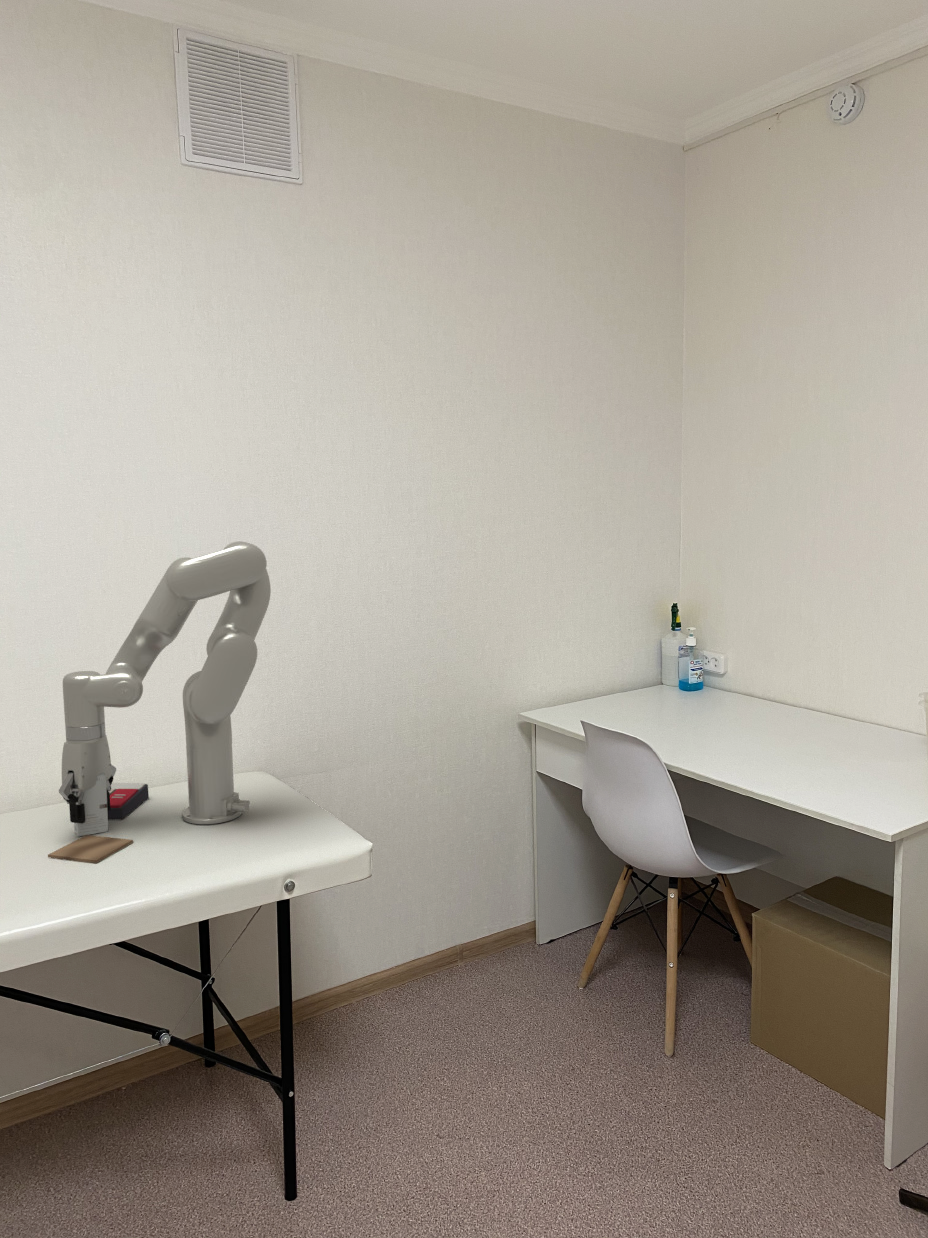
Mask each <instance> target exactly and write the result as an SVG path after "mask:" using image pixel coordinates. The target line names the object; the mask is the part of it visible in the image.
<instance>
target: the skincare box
mask: <svg viewBox="0 0 928 1238" xmlns="http://www.w3.org/2000/svg"><path fill="white" fill-rule="evenodd" d="M75 788H78V785H76V786H75ZM75 796H76V797H77V796H78V792H75ZM82 804H84V806H85V823H83V824H81V823H74V832H75V834H76V835H77V837H83V836H85V835H95V834H100V833H106V832H108V831H109V820H108V811H107V787H106V775H105V773H102V774H100V775H98V776H97V781H96V785H95V786H94V787H92V788H90V789H87V790H85V793H84V796H83V800H82Z"/></svg>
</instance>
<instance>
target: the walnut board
mask: <svg viewBox="0 0 928 1238" xmlns="http://www.w3.org/2000/svg"><path fill="white" fill-rule="evenodd" d="M133 843H134V840H133V839H128V838H117V837H110V836H101V835H94V834H89V835H84V836H80V838H78V839H75V840H74V841H72V842H70V843H68V844H66V845H64V846H62V847H60V848H58V849H56V850H55V851H52V852H50V853H49V854H47V858H48V857H51V858H50V859H55V858H57V859H56V860H63V859H66V860H65V861H71V860H73V862H80V863H89V864H98V863H100V862H102V861H103V860H106V859H107V858H109V857H110V856H112V855H114V854H116V853H118V852H119V851H121V850H123V849H125V848H127V847H128V846H131V845H132V844H133Z"/></svg>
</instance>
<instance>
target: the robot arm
mask: <svg viewBox="0 0 928 1238" xmlns="http://www.w3.org/2000/svg"><path fill="white" fill-rule="evenodd" d="M267 564H268V563H267V557H266V555H265V553H264V552H263V551H262V549H261V548H260V547H258V546H257V545H255V544H253V543H250V542H246V541H234V542H230V543H229V544H227V545H226V546H224V548H223V549H221V550H218V551H217V550H216V551H215V552H211V553H208V554H204V555H201V556H200V555H199V556H196V557H186V556H185V557H180V558H178V559H175V560H173V562H171V564H170V565H169V566H168V568H167V569H166V570H165V572H164V574H163V576H162V578H161V579H160V581H159V583H158V585H157V586H156V587H155V589H154V591H153V592H152V594H151V596H150V598H149V600H148V602H147V603H146V605H145V606H144V608H143V609H142V611H141V612H140V614H139V616H138V618H137V620H136V621H135V623H134V624H133V627H132V629H131V630H130V632H129V634H128V635H127V637H126V638H125V639H124V641H123V643H122V645H121V647H120V648H119V649H118V651H117V653H116V655H115V656H114V658H113V660H112V661H111V663H110V664H109V666H108V668H107V670H106V672H105V674H100V673H99V672H97V671H93V670H81V671H80V670H79V671H73V672H69V673H67V674H66V675H64V676H63V678H62V694H63V695H62V697H63V710H64V712H63V713H64V726H65V727H64V728H65V742H63V745H62V746H63V747H62V753H61V786H60V787H59V789H58V793H59V794H60V795H61V796H62V798H63V800H64V801H65V802H66V805H69V806H68V807H69V820H70V823H81V824H83V823H85V806H84V804H82V800H83V796H84V793H85V790H87V789H90V788H92V787H94V786H95V785H96V781H97V776H98V775H100V774H102V773H105V775H106V787H107V811H109V810H110V809H111V808H110V792H109V791H111V784H112V783H114V777H115V775H116V772H117V767H116V766H114V765H113V764H112V760H111V751H110V746H109V741H108V737H107V734H106V716H105V715H106V714H105V708H106V707H107V708H118V709H119V708H130V707H131V706H133V705H136V704H137V703H138V702H139V701H140V700H141V698H142V695H143V692H144V686H143V681H144V679H145V677H146V676H147V674H148V672H149V670H150V669H151V668H152V665H153V664H154V662H155V661H156V659H157V658H158V657H159V655H160V654H161V652H162V651H163V650H164V649H165V648H166V647H168V646H169V645H171V644H172V643H173V642H174V640H176V638H177V637H178V635H179V634H180V632H181V630H182V628H183V627H184V625H185V623H186V621H187V620H188V618H189V616H190V615H191V613H192V611H193V609H195V606H196V605H197V603H198V601H200V600H204V599H207V598H211V597H215V596H219V595H221V594H225V593H227V592H229V593H228V597H227V600H226V602H225V604H224V607H223V610H222V612H221V614H220V616H219V618H218V620H217V622H216V625H215V626H214V628H213V630H212V632H211V634H210V636H209V637H208V640H207V643H206V654H207V658H206V659H205V661H204V664H203V666H202V668H201V670H199V671H195V672H194V673H193V674H191V675H190V676H189V677H188V678H187V680H186V681H185V683H184V686H183V689H182V706H183V707H182V709H183V716H184V726H185V727H184V729H185V743H186V744H185V748H186V749H185V750H186V752H185V753H186V769H187V789H188V806H187V807H186V808H184V809H183V810H182V812H181V818H182V820H183V821H184V822H186V823H189V824H194V825H215V824H222V823H226V822H229V821H233V820H235V819H236V818H238V817H240V816H241V815H242V814H243V813H248V812H249V810H250V802H251V801H250V800H247V799H246V800H245V799H240V797H239V796H240V794H239V792H235V784H234V781H235V780H234V763H233V762H234V761H233V731H232V730H233V729H232V719H231V715H232V714H233V712H234V710H236V707H237V705H238V703H239V701H240V699H241V698H242V697H241V696H242V695H243V693H244V690H245V688H246V687H247V684H248V682H249V680H250V678H251V676H252V673H253V671H254V669H255V667H256V663H257V659H258V647H257V643H256V641H255V640H256V637H257V635H258V633H259V630H260V628H261V625H262V623H263V621H264V618H265V616H266V613H267V610H268V609H269V605H270V600H271V591H272V590H271V580H270V576H269V573H268V570H267V567H268V566H267ZM76 785H78V788H75V786H76ZM75 792H78V796H77V797H76V796H75Z"/></svg>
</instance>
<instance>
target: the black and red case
mask: <svg viewBox="0 0 928 1238" xmlns="http://www.w3.org/2000/svg"><path fill="white" fill-rule="evenodd" d="M109 792H110V808H111V809H110V810H109V811H108V821H123V820H125V819H126V818H127V817H128V816H130V815H131V813H133V812H134V811H136V809H137V808H138V807H140V805H143V804H144V803H145V802H147V800H149V799H150V795H149V784H148V783H145V782H112V784H111V791H109Z"/></svg>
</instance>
